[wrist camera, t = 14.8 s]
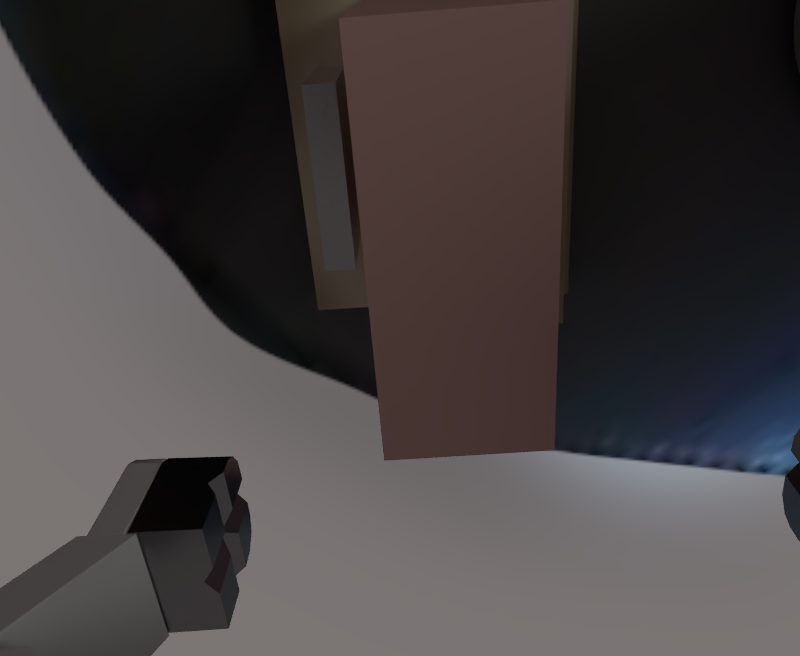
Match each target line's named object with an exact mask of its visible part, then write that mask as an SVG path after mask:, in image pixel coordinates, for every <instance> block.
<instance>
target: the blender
mask: <svg viewBox="0 0 800 656" xmlns="http://www.w3.org/2000/svg"><path fill="white" fill-rule="evenodd" d="M794 49H795V57H796V62H797V67H798V71H799V74H800V0H797V3H796V8H795V17H794Z"/></svg>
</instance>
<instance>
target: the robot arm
mask: <svg viewBox="0 0 800 656" xmlns="http://www.w3.org/2000/svg"><path fill="white" fill-rule="evenodd" d="M791 451H792V453H793V454H794V456H795V457H796V458H797V460H798V461H799V463H798V464H797V465H796V466H795V467H794V468H793V469H792V470H791V471H790V472H789V473H788V474H787V475H786V476H785V482H784V488H783V495H782V496H783V503H784V510H785V515H786V517H787V520H788V523H789V525H790V527H791V529H792V530H793V532H794V533H795V535H796V537H797V538H798V540H799V541H800V429H799V430H798V432H797V433H796V435H795V436H794V440H793V445H792V449H791ZM241 481H242V477H241V473H240V469H239V465H238V462H237V460H236V459H234V457H202V458H169V459H149V460H135V461H133V462H131V463H130V464H128V466H127V467H126V469H125V470H124V472H123V474H122V476H121V478H120V479H119V481H118V483H117V484H116V486H115V488H114V490H113V491H112V493H111V495H110V497H109V498H108V500H107V502H106V504H105V505H104V507H103V509H102V511H101V512H100V514H99V516H98V518H97V519H96V521H95V523H94V525H93V526H92V528H91V530H90V532H89V533H88V535H87V536H80V537H75V538H74V539H73V540H71V541H70V542H68V543H67V544H65V545H64V546H62V547H61V548H59V549H58V550H56V551H55V552H53V553H52V554H50V555H49V556H47V557H46V558H45V559H43V560H42V561H40V562H39V563H37V564H35V565H34V566H32V567H31V568H30V569H28V570H27V571H25V572H24V573H22V574H21V575H19V576H18V577H16V578H15V579H13V580H12V581H11V582H9V583H7V584H6V585H4V586H3V587H2V588H0V656H151V655H152V654H153V653H154V652H155V650H156V649H157V648H158V647H159V646H160V645H161V644H162V643H163V642H164V641H165V640H166V638H167V637H168V636H169V634H168V633H170V632H184V631H199V630H213V629H227V628H229V625H230V622H231V618H232V614H233V611H234V608H235V604H236V600H237V597H238V593H239V587H238V583H237V579H236V575H237V574H238V573H239V572H240V571H241V570H242V569H243V568H244V567H246V564H247V560H248V555H249V552H250V541H251V521H250V513H249V508H248V503H247V502H246V501H245V500H244V499H243V498H241V496H239V495H238V494H237V493H238V490H239V487H240V484H241Z"/></svg>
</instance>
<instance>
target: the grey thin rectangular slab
mask: <svg viewBox="0 0 800 656" xmlns="http://www.w3.org/2000/svg"><path fill="white" fill-rule="evenodd" d="M301 87H302V95H303V103H304V110H305V118H306V126H307V133H308V141H309V149H310V156H311V164H312V172H313V179H314V187H315V194H316V202H317V210H318V217H319V225H320V233H321V240H322V248H323V256H324V263H325V271H330V270H345V269H356V264H357V257H358V250H359V243H360V236H361V229H360V220H359V210H358V200H357V191H356V181H355V171H354V162H353V152H352V142H351V133H350V123H349V113H348V104H347V94H346V84H345V75H344V65H343V66H330V67H318V68H315V69H314V71H313V72H312V73H311V74H310V75H309V76H308V78H307V79H306V80H305V81H304V82H303V83H302V85H301Z"/></svg>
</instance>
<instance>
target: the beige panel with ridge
mask: <svg viewBox="0 0 800 656" xmlns="http://www.w3.org/2000/svg"><path fill="white" fill-rule="evenodd" d="M360 1H361V0H275V3H276V10H277V18H278V25H279V32H280V39H281V46H282V53H283V61H284V68H285V75H286V82H287V89H288V97H289V104H290V111H291V118H292V125H293V132H294V140H295V147H296V154H297V161H298V168H299V176H300V183H301V190H302V197H303V204H304V211H305V219H306V226H307V233H308V240H309V247H310V255H311V262H312V269H313V276H314V283H315V290H316V298H317V305H318V310H331V309H346V308H361V307H368V297H367V287H366V278H365V268H364V258H363V249H362V239H361V236H360V243H359V250H358V257H357V264H356V269H345V270H330V271H325V263H324V256H323V248H322V240H321V233H320V225H319V217H318V210H317V202H316V194H315V187H314V179H313V172H312V164H311V156H310V149H309V141H308V133H307V126H306V118H305V110H304V103H303V95H302V87H301V85H302V83H303V82H304V81H305V80H306V79H307V78H308V76H309V75H310V74H311V73H312V72H313V71H314V69H315V68H318V67H330V66H343V55H342V46H341V36H340V26H339V18H340V17H341V16H342V15H343V14H345V13H346V12H347V11H348V10H350V9H351V8H352V7H354V6H355V5H356V4H357V3H359V2H360ZM578 6H579V0H568V23H567V56H566V89H565V122H564V155H563V188H562V222H561V255H560V288H559V321H558V323H563V313H564V294H567V293H568V283H569V255H570V228H571V200H572V172H573V145H574V117H575V89H576V61H577V34H578Z"/></svg>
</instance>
